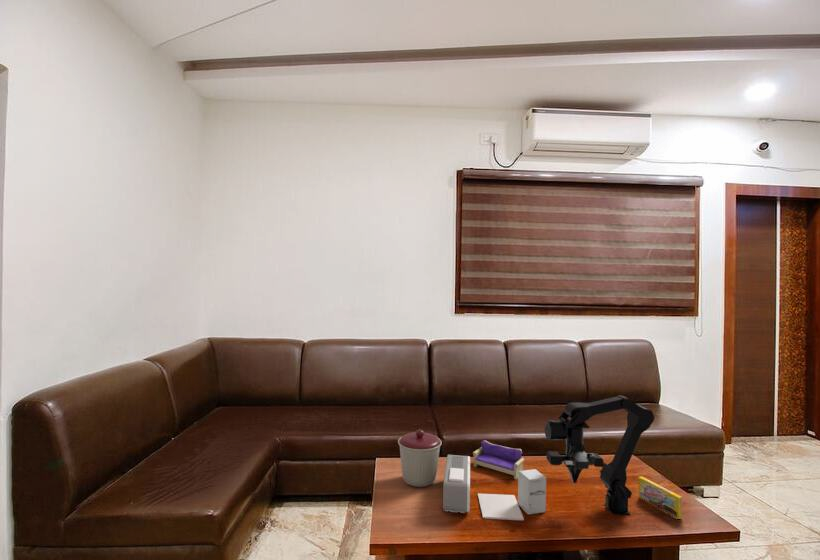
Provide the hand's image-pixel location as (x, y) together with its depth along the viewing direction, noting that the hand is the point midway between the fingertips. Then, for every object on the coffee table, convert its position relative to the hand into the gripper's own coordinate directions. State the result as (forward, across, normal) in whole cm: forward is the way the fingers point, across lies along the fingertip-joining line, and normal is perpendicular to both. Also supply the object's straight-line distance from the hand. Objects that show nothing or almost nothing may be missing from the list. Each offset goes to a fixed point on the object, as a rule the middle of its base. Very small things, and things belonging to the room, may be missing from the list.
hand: (574, 482), depth 147 cm
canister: (+10, -57, +17) cm, 60 cm away
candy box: (+10, +32, +4) cm, 34 cm away
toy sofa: (+10, -22, +31) cm, 40 cm away
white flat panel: (+10, -27, 0) cm, 29 cm away
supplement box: (+10, -15, 0) cm, 18 cm away
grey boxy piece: (+10, -42, +6) cm, 43 cm away
